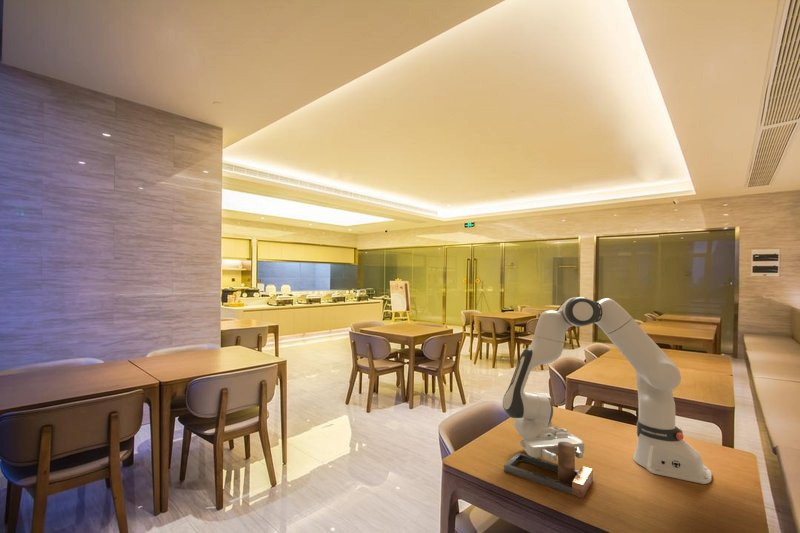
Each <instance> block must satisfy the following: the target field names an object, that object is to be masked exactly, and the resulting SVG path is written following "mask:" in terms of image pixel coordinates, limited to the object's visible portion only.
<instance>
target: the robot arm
mask: <svg viewBox="0 0 800 533" xmlns="http://www.w3.org/2000/svg"><path fill="white" fill-rule="evenodd" d="M591 324H596V325H597V326H598V327H599V328H600V329H601V331H602V332H603V333H604V334H605V336H607V338H608V339H609V341H611V343H612V344H613V345H614V346H615V347H616V349H618V351H619V352H620V353H621V354H622V356H623V357H624V359H626V361H627V362H629V364H630V365H631V366H632V367H633V369H634V370H635V378H636V379H635V380H636V389H637V390H636V391H637V399H638V405H637V406H638V419H637V421H636V435H637V442H636V447H635V452H634V455H633V458H632V459H633V460H634V462H635V463H636V464H638V465H639V466H641V467H643V468H644V469H646V470H647V471H648V472H649V473H651V474H655V475H659V476H663V477H668V478H673V479H677V480H681V481H687V482H692V483H696V484H702V485H706V484H709V483H711V482H712V480H713V477H712V476H713V474H712V472H711V470H710V469H709V467H707V466H706V465H705V464H704V463H703V459H702V455H701V454H700V453H699V451H698V450H696V449H695V448H694V447H693V446H691V445H690V444H689V443H688V442H687V441H686V440H685V439H684V433H683V430H682V428H681V427H680V428H679V427H677V426H676V403H675V398H674V393H673V392H674V391H673V390H674V389H676V388H677V387H679V385H680V383H681V380H682V378H681V377H682V376H681V372H680V370H679V368H678V366H677V364H675V363H674V361H673V360H672V359H671V358H670V357H669V356H668V355H667V354H666V353H665V352H664V350H662V349H661V348H660V346H659V345H658V344H657V343H656V342H655V341H654V340H653V338H651V337H650V336H649V334H647V332H646V331H644V329H643V328H642V327H641V326H640V325H639V324H638V322H637V321H636V320H635V319H634V318H633V317H632V315H631V314H630V313H628V311H627V310H626V309H625V308H623V307H622V306H621V305H620V304H619V303H618V302H616V301H615V300H614V299H612V298H609V297H608V298H607V297H606V298H602V299H601V298H600V299H599V300H596V301H595V300H592V299H590V298H587V297H584V296H574V297H570V298H568V299H567V300H565V301H564V302H562V303H561V304H560V305H559V306H558V308H557V309H556V310H550V309H549V310H545V311H543V312H541V314H540V315H539V317H538V320H537V322H536V326H535V330H534V333H533V338H532V340H531V343H530V344H529V346H528V347H527V348H525V349H523V351H522V352H521V354H520V356H519V359H518V361H517V364H516V367H515V369H514V371H513V375H512V377H511V380H510V384H509V386H508V388H507V389H506V392H505V393H504V396H503V398H502V408H503V409H504V411H505V413H506V415H508V417H510V418H513V419H514V421H513V425H514V428H515V430H516V432H517V433H518V434H519V435H520V437H522V438H523V439H522V440H521V441H520V440H519V445H520V446H521V447H523V449H524V452H526V455H529V456H531V457H534V458H546V459H549V460H550V461H551V462H552V461H558V443H559V442H569V443H572V444H573V445H574V446H575V457H576V458H577V459H583V457H584V453H585V442H584V441H583V439H580V438H579V437H578V436H576V434H575V435H574V434H572V433H570V432H568V429H566V428H563V427H554V426H548V425H549V423H550V421H551V422H552V419H553V416H554V407H553V404H552V400H551V401H550V399H549V398H548V397H547V396H546V395H541V394H536V393H537V392H535V393H532V392H529V391H525V387H526V384H527V382H528V379H529V376H530V374H531V372H532V371H533V369H534V368H536V367H539V366H541V365H546V364H551V363H553V362H556V361H557V360H559V358H561V355H562V353H563V350H564V345H565V339H566V334H567V331H568V330H569V329H570V328H571V327H579V328H580V327H585V326H586V327H587V326H590V325H591Z"/></svg>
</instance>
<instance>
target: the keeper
mask: <svg viewBox="0 0 800 533" xmlns="http://www.w3.org/2000/svg"><path fill="white" fill-rule="evenodd" d="M575 457H576V456H575V446H574V445H573V444H572V443H569V442H559V443H558V456H557V464H558V472H557V481H560V482H563V483H566V484H569V485H572V481H573V480H574V478H575V470H576V469H575V468H576V466H575V464H576V461H575V459H576V458H575Z"/></svg>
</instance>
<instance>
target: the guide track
mask: <svg viewBox="0 0 800 533" xmlns="http://www.w3.org/2000/svg"><path fill="white" fill-rule="evenodd" d="M520 462H525V463H527V464H530V465H533V466H536V467H541V468H544V469H546V470H549V471H553V472H556V473H558V463H554V462H552V461H548V460H545V459H542V458H540V457H536V458H534V457H531V456H529V455H528V454H527V453H522V452H516V454H515V455H513V456H512V457H511V458H510V459H509V460H508V461H506V463H505V464H504V465H503V471H504V472H505V473H508V474H511V475H514V476H517V477H520V478H523V479H526V480H528V481H531V482H534V483H538V484H539V485H544V486H546V487H549V488H551V489H555V490H558V491H561V492H564V493H566V494H570V495H572V496H575V497H578V498H581V499H584V496H585V495H586V494H587V492H588V490H589V488H590V487H591V485H592V483H593V481H594V480H593V471H594V470H593V468H590V467H588V466H585V465H582V466H581V467H580V468H579V470H577V469H575V478H574V480H573V481H572V485H569V484H566V483H563V482H560V481H558V479H553V478H551V477H547V476H545V475H541V474H538V473H536V472H533V471H530V470H526V469H524V468H521V467H517V465H518V464H519V463H520Z"/></svg>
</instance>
